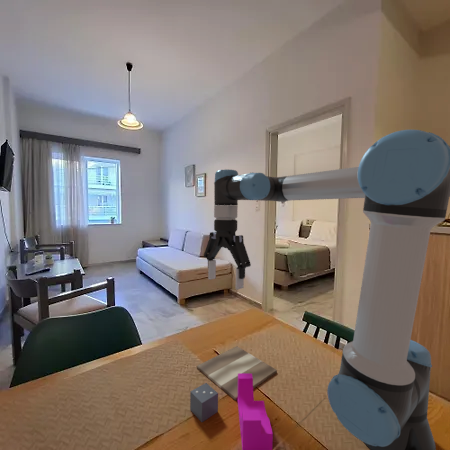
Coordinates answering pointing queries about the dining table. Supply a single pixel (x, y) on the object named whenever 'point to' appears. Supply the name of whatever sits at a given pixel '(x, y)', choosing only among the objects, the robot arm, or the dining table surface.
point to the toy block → (252, 417)
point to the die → (204, 402)
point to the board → (235, 370)
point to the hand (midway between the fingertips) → (224, 283)
